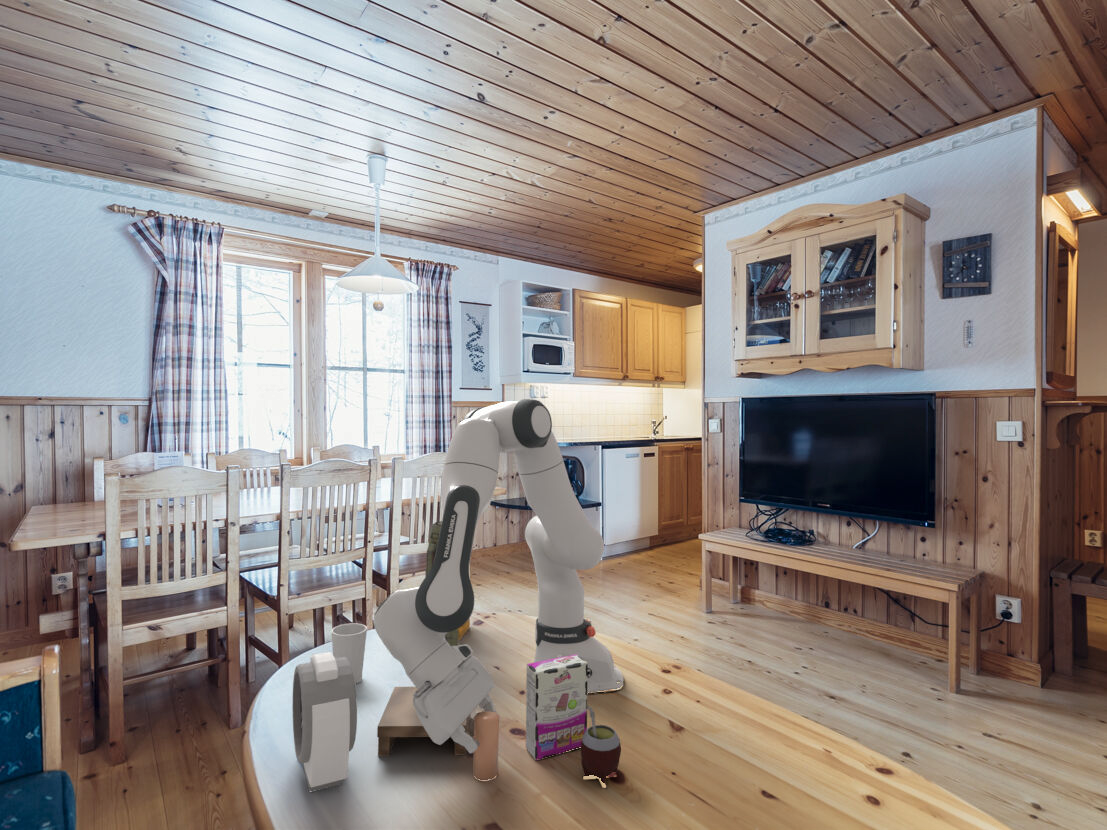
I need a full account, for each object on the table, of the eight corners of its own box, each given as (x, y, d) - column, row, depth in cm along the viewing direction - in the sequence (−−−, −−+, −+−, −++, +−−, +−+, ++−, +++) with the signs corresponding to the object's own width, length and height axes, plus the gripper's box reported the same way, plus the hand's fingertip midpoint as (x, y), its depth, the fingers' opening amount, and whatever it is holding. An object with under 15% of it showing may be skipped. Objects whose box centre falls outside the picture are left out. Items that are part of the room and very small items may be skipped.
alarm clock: (290, 752, 111) (292, 642, 111) (338, 740, 115) (340, 635, 115) (302, 808, 96) (305, 681, 96) (357, 793, 100) (360, 671, 100)
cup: (359, 688, 138) (360, 635, 138) (324, 687, 138) (325, 634, 138) (370, 673, 146) (371, 623, 146) (337, 672, 146) (339, 622, 146)
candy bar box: (574, 735, 120) (576, 652, 120) (587, 747, 115) (589, 662, 115) (523, 748, 114) (525, 662, 115) (534, 762, 110) (537, 672, 110)
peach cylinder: (498, 766, 108) (499, 711, 108) (497, 781, 104) (499, 723, 104) (473, 766, 108) (475, 711, 108) (472, 781, 104) (473, 723, 104)
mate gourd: (613, 764, 110) (615, 682, 110) (626, 791, 102) (628, 703, 102) (574, 767, 109) (576, 684, 109) (583, 795, 101) (585, 705, 101)
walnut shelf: (470, 714, 127) (471, 686, 127) (464, 758, 111) (465, 725, 111) (394, 715, 126) (394, 686, 126) (376, 759, 110) (377, 726, 110)
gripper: (421, 685, 98) (474, 756, 95) (472, 641, 118) (517, 699, 115) (396, 708, 99) (448, 779, 97) (450, 661, 119) (495, 718, 116)
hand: (486, 735), depth 106 cm, fingers open, 8 cm apart
